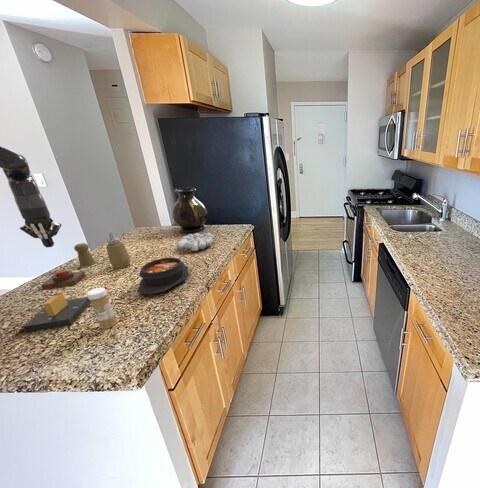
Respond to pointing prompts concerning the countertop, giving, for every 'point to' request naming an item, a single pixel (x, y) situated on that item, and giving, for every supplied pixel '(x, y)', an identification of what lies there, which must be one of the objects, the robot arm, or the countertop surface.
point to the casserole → (162, 275)
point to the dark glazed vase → (189, 211)
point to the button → (61, 273)
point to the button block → (63, 280)
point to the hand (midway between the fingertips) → (49, 246)
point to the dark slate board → (58, 316)
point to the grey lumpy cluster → (195, 241)
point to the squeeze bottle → (117, 252)
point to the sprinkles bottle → (102, 307)
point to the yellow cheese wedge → (55, 304)
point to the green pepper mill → (84, 255)
